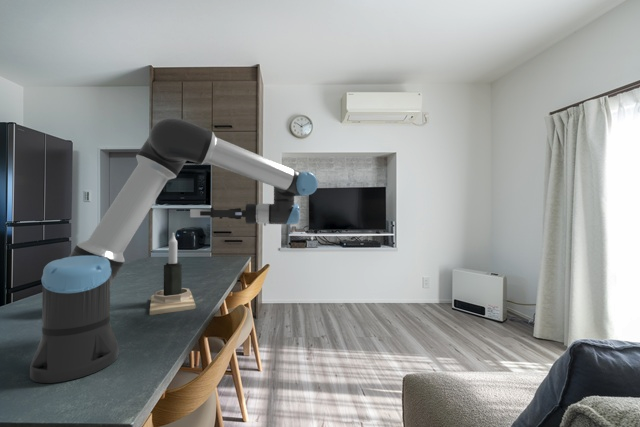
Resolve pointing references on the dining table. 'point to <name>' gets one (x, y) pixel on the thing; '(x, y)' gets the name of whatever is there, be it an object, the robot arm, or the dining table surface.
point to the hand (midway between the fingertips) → (195, 213)
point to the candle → (172, 271)
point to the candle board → (171, 302)
